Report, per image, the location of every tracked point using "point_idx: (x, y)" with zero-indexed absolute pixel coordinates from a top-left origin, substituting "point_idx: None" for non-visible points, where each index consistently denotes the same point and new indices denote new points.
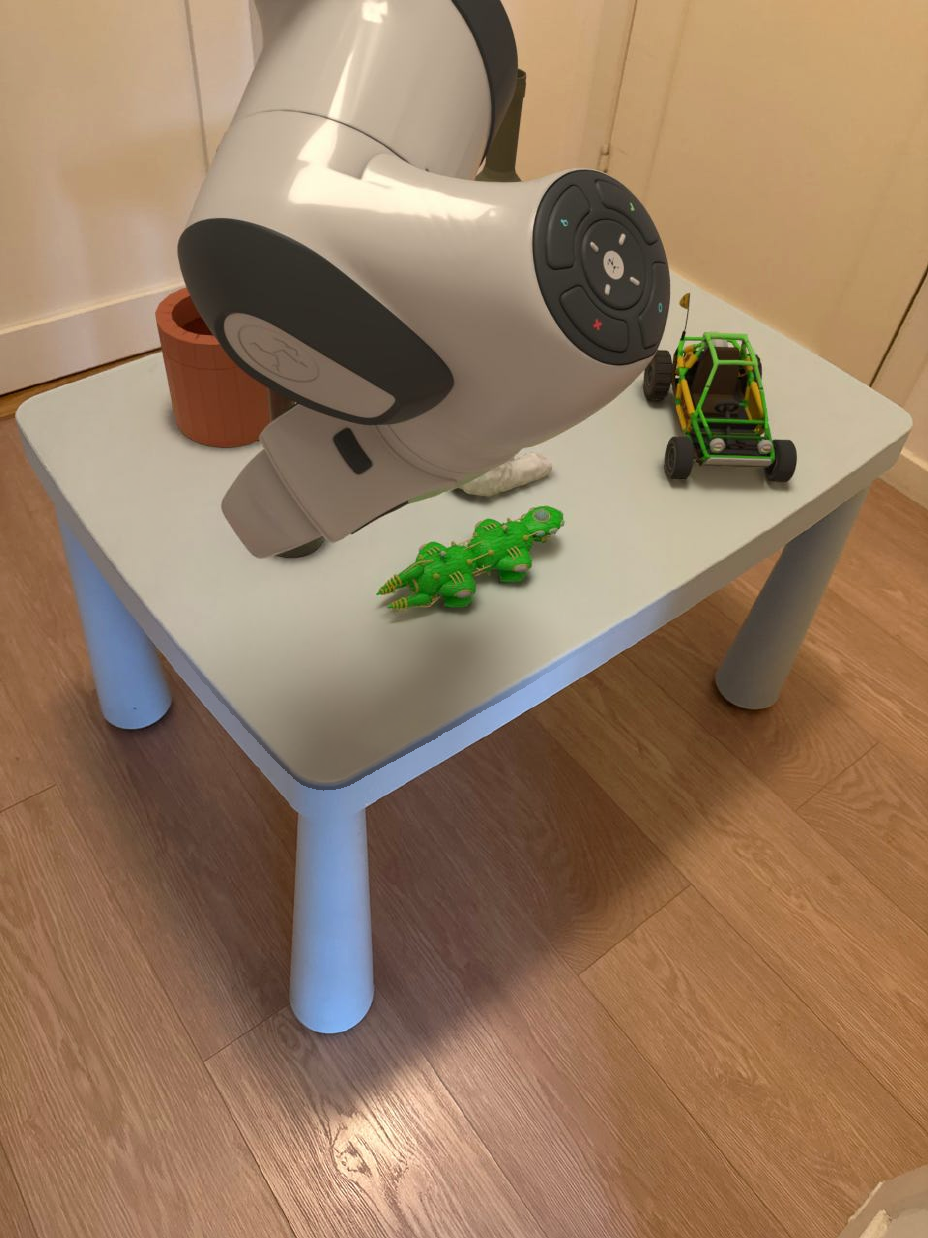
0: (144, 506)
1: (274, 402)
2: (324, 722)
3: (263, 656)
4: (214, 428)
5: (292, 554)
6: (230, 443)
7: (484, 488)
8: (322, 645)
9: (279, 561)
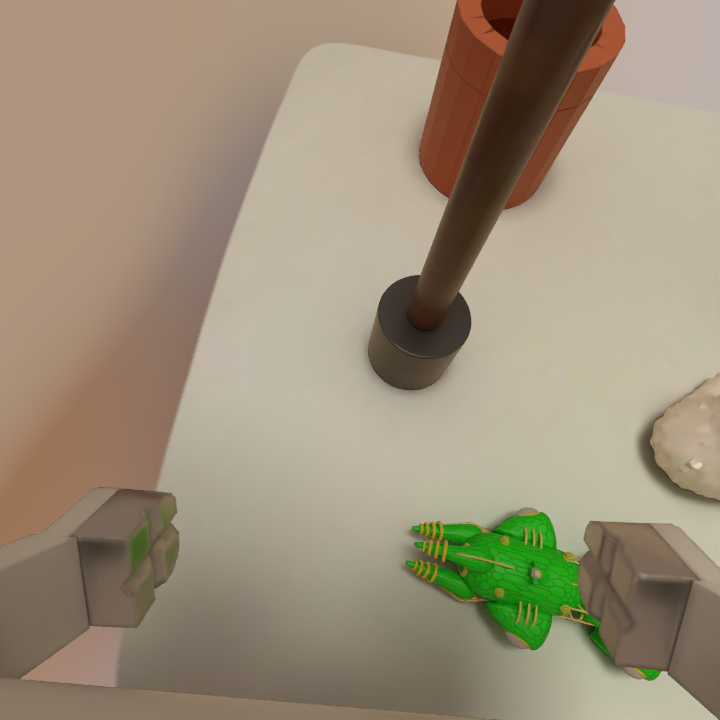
0: (309, 203)
1: (458, 194)
2: (199, 645)
3: (232, 483)
4: (443, 166)
5: (382, 377)
6: (450, 193)
7: (685, 482)
8: (302, 527)
9: (365, 372)
